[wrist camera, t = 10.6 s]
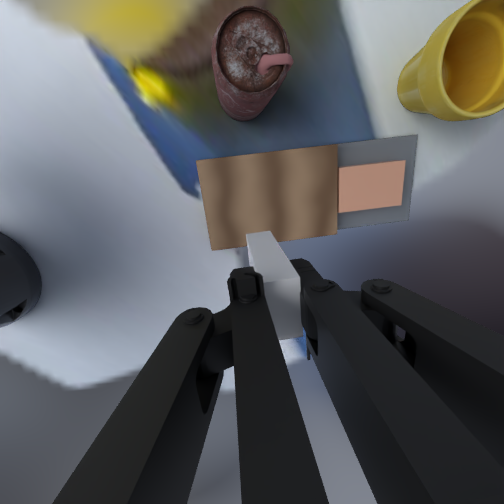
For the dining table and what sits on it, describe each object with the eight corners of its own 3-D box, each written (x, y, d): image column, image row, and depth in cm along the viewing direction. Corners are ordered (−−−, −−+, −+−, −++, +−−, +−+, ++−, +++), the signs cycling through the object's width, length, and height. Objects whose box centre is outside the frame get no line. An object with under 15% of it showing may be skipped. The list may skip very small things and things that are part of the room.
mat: (330, 229, 39) (331, 230, 39) (330, 144, 35) (331, 144, 35) (406, 219, 40) (408, 220, 39) (415, 134, 35) (417, 134, 35)
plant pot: (371, 120, 34) (423, 106, 25) (397, 26, 31) (468, -29, 22) (440, 134, 36) (512, 126, 27) (472, 45, 32) (568, 1, 23)
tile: (333, 210, 38) (338, 212, 36) (333, 167, 36) (339, 167, 34) (392, 202, 38) (401, 205, 36) (396, 160, 36) (405, 160, 34)
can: (269, 120, 33) (295, 96, 20) (220, 122, 33) (214, 99, 20) (268, 65, 31) (297, -2, 18) (216, 66, 31) (206, -2, 18)
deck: (212, 245, 38) (211, 250, 36) (198, 160, 34) (195, 160, 32) (330, 229, 39) (337, 234, 37) (330, 144, 35) (337, 143, 33)
